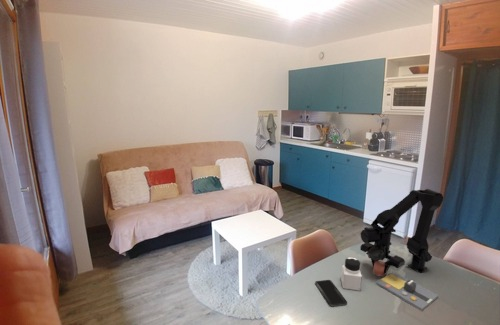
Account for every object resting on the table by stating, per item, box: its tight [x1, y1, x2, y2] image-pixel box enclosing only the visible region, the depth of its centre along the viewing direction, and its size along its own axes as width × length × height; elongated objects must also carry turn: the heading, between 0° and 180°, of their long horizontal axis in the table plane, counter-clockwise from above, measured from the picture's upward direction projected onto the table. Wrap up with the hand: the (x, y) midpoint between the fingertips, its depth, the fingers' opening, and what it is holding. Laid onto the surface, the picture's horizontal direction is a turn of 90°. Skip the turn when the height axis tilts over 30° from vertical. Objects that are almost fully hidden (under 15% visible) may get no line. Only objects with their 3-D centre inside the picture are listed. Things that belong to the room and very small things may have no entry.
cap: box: [372, 260, 387, 277], centre depth 127 cm, size 5×5×5 cm
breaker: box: [404, 279, 417, 293], centre depth 113 cm, size 4×3×4 cm
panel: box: [375, 271, 439, 312], centre depth 115 cm, size 14×19×2 cm
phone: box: [314, 279, 348, 308], centre depth 113 cm, size 8×1×15 cm
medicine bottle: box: [340, 257, 363, 292], centre depth 117 cm, size 7×7×12 cm
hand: (379, 270), depth 127 cm, fingers closed on cap, 5 cm apart
